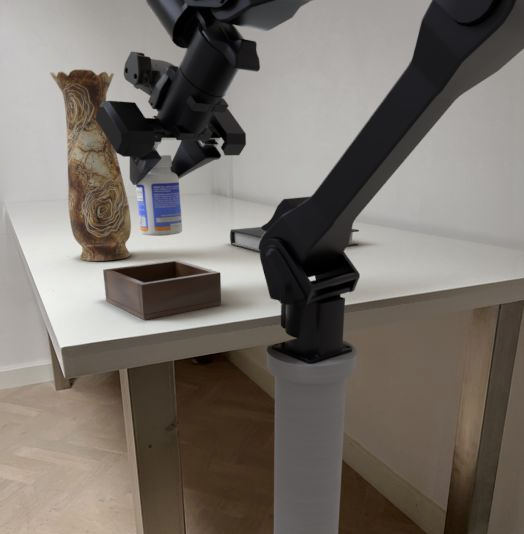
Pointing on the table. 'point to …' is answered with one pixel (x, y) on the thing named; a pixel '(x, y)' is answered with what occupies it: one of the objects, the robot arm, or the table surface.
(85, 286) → the table surface
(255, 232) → the book
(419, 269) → the table surface
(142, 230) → the pill bottle
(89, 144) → the vase
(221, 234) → the table surface
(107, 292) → the box
